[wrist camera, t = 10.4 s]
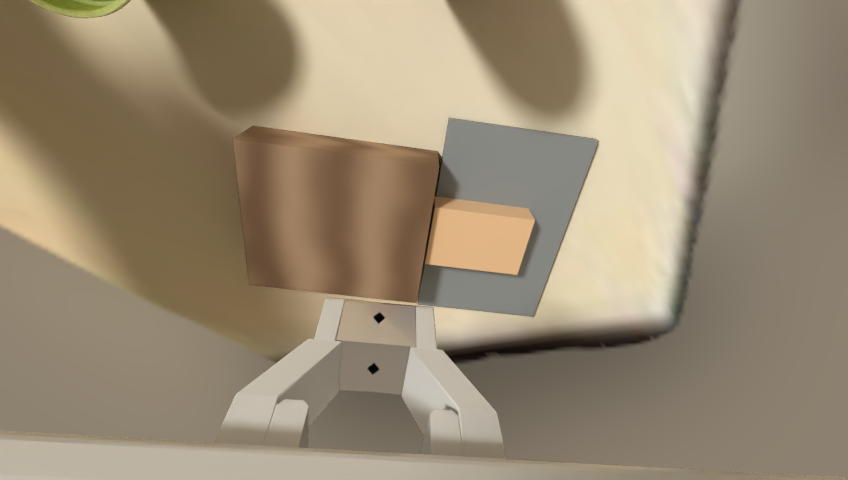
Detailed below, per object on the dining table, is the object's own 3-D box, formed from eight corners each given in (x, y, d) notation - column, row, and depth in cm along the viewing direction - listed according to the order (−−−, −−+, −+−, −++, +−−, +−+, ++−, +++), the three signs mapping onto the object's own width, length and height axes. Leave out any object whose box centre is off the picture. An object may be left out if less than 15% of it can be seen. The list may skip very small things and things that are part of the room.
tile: (424, 250, 39) (425, 263, 36) (434, 196, 36) (434, 207, 34) (512, 261, 39) (517, 274, 37) (528, 208, 36) (535, 220, 34)
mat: (417, 300, 43) (417, 304, 42) (449, 117, 33) (449, 119, 32) (531, 313, 44) (533, 316, 43) (596, 139, 34) (598, 140, 33)
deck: (263, 261, 40) (248, 284, 36) (252, 125, 33) (232, 139, 29) (416, 278, 41) (416, 302, 38) (437, 151, 34) (439, 166, 31)
